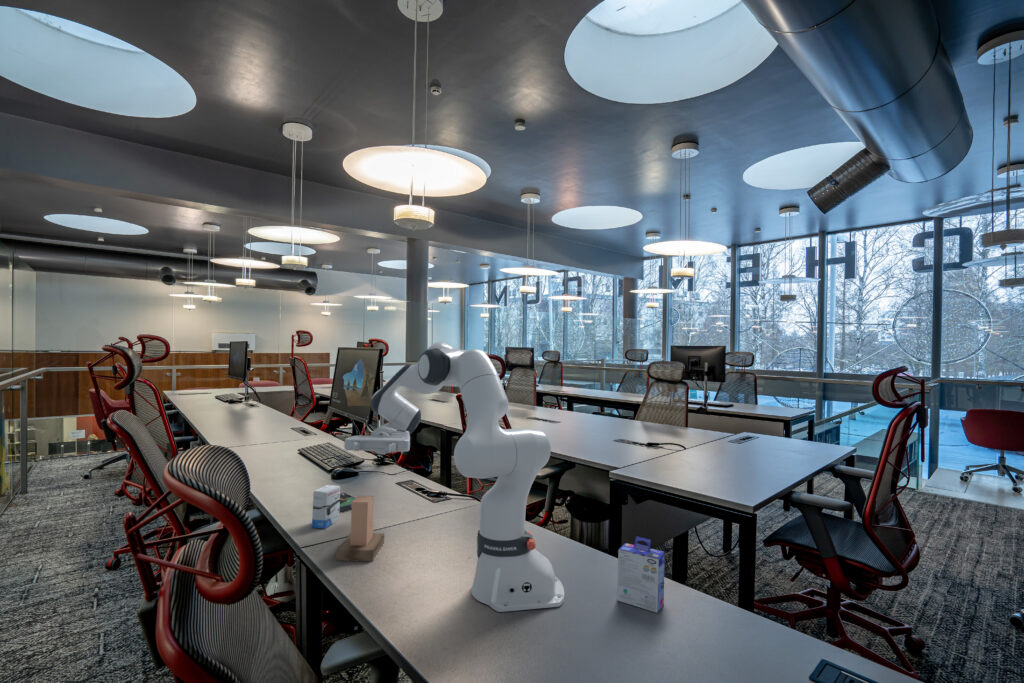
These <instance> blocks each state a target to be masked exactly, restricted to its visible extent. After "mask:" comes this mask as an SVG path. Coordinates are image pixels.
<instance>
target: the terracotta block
mask: <svg viewBox="0 0 1024 683" xmlns="http://www.w3.org/2000/svg"><path fill="white" fill-rule="evenodd" d="M354 498H355V499H354V500H353V501H352V510H351V518H350V533H351V540H350V545H365V546H366V545H367V544H368V543H369V541H370V540H371V539H372V536H373V533H374V505H375V504H374V503H375V502H374V501H375V496H374V495H358V496H356V497H354Z"/></svg>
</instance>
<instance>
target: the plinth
mask: <svg viewBox="0 0 1024 683" xmlns="http://www.w3.org/2000/svg"><path fill="white" fill-rule="evenodd" d="M350 540H351V532H350V533H349V535H348V536H346V538H345V539H344V540H343V541H342V542H341V543H340V545H339V546H338V547H337V548H336V551H335V552H336V556H335V557H336V558H335V561H336V560H344V561H343V562H349V560H352V561H351V562H354V561H353V560H358V561H357V562H374V561H375V559H374V558H376V557H377V556H378V555H379V553H378V552H380V551H381V550H382V548H383V546H384V545H385V533H384V532H383V533H379V532H377V533H376V532H375V533H374V532H373V536H372V539H371V540H370V541H369V543H368V544H367V545H366V546H365V545H350ZM383 544H384V545H383ZM381 547H382V548H381ZM379 550H380V551H379ZM376 555H377V556H376ZM345 560H346V561H345Z"/></svg>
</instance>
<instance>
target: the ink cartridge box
mask: <svg viewBox="0 0 1024 683" xmlns="http://www.w3.org/2000/svg"><path fill="white" fill-rule="evenodd" d="M651 541H652V540H651V539H649V538H645V537H641V536H636V537H635V541H634V544H632V543H624V544H622V546H621V547H620V548H619V549H618V550H617V554H618V555H617V556H618V557H617V587H616V589H617V592H616V594H617V595H616V601H618V602H621V603H625V604H628V605H630V606H634V607H637V608H641V609H643V610H646V611H651V612H653V613H659V611H660V610H661V609H662V607H663V606H664V605H665V556H666V555H665V551H662V550H659V549H654V548H651ZM638 542H645V544H647V545H645V544H641V543H638Z"/></svg>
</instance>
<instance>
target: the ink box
mask: <svg viewBox="0 0 1024 683" xmlns="http://www.w3.org/2000/svg"><path fill="white" fill-rule="evenodd" d="M340 494H341V485H340V486H339V485H333V484H326V485H323V486H322V487H320V488H317V489H314V491H313V495H312V496H313V497H312V517H311V518H312V519H311V528H314V529H321V528H322V529H323V530H325V528H326V529H327V528H329V527H330V526H332V525H334V524H335V522H336V523H337V522H339V521H340V513H339V507H340Z"/></svg>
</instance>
